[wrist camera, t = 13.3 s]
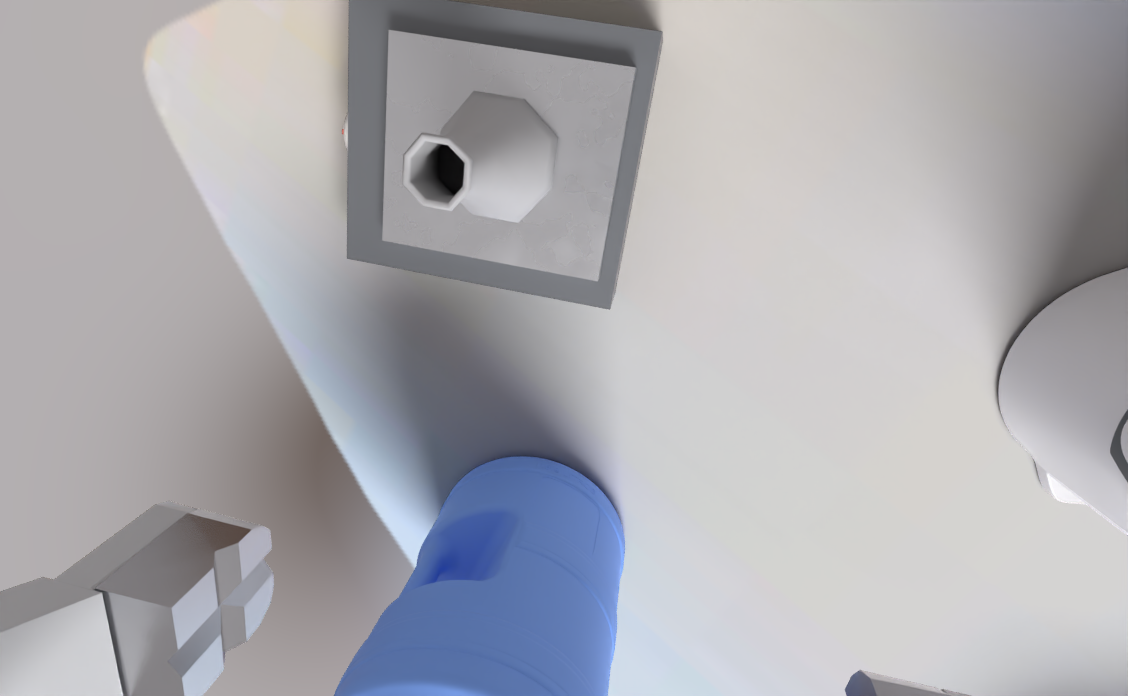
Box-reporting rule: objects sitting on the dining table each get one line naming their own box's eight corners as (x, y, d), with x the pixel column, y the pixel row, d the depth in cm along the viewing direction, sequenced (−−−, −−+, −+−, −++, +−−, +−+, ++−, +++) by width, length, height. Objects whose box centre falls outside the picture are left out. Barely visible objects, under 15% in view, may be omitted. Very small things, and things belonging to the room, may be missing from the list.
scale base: (662, 40, 35) (662, 31, 32) (615, 292, 41) (609, 309, 38) (370, -3, 37) (338, -16, 34) (365, 245, 43) (337, 256, 40)
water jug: (660, 506, 47) (649, 969, 21) (575, 629, 53) (488, 1104, 28) (486, 418, 47) (266, 780, 21) (421, 552, 53) (189, 959, 27)
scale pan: (636, 68, 32) (635, 67, 32) (599, 277, 37) (597, 281, 36) (396, 32, 34) (388, 29, 33) (389, 237, 38) (382, 240, 37)
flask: (526, 242, 36) (477, 284, 27) (421, 185, 36) (335, 207, 27) (580, 130, 33) (546, 133, 24) (467, 67, 33) (389, 46, 24)
